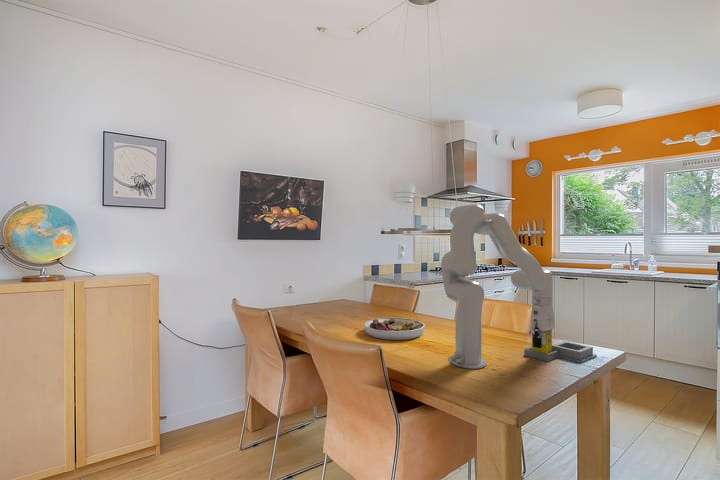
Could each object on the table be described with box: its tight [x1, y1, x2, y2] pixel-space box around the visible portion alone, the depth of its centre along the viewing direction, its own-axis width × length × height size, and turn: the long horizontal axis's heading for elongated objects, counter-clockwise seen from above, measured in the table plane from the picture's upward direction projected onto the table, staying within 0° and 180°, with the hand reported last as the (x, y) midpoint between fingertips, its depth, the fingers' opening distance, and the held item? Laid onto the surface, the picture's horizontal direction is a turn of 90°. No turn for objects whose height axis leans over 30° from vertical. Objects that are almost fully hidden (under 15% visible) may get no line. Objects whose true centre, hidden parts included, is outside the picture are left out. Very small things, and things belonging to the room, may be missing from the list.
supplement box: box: [531, 329, 553, 354], centre depth 153 cm, size 6×6×11 cm
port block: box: [552, 340, 598, 364], centre depth 153 cm, size 13×13×4 cm
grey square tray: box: [523, 346, 560, 362], centre depth 153 cm, size 10×10×2 cm
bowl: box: [363, 317, 426, 341], centre depth 190 cm, size 30×30×8 cm
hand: (541, 345), depth 153 cm, fingers closed on supplement box, 6 cm apart
